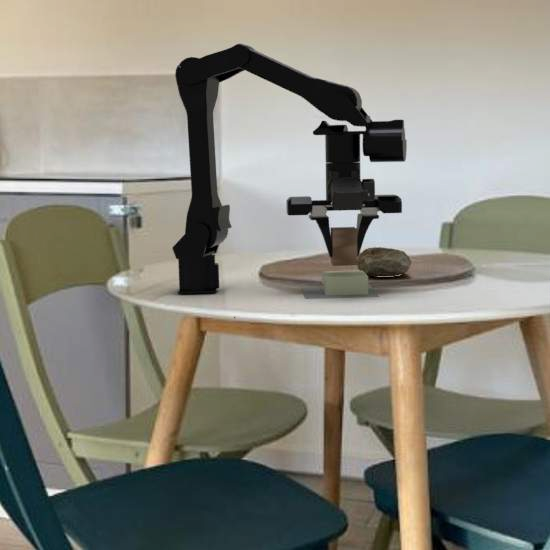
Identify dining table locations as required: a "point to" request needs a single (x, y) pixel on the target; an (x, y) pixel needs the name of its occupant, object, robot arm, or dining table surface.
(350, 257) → the walnut block
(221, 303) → the dining table surface
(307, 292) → the build mat
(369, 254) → the stone
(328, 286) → the base block
